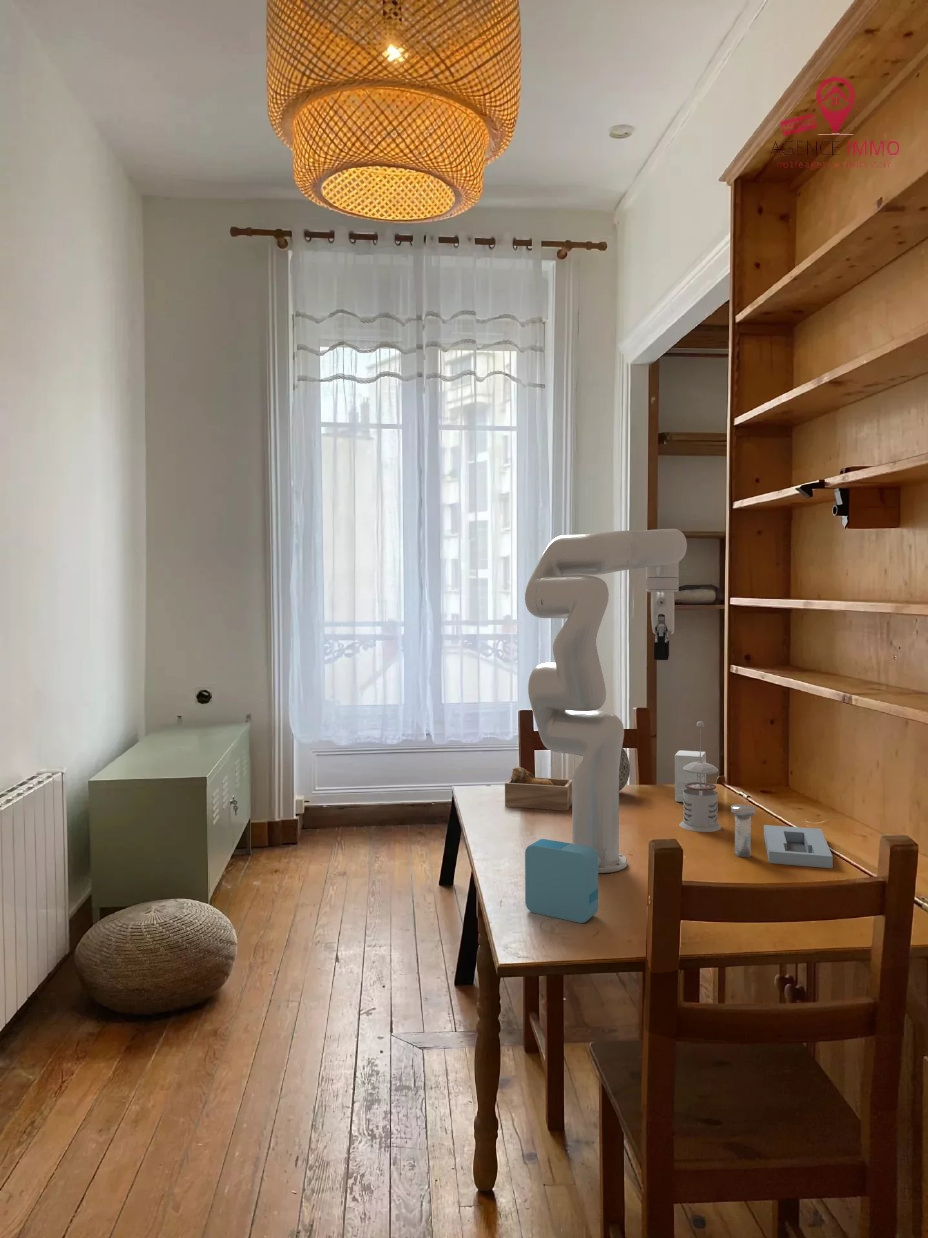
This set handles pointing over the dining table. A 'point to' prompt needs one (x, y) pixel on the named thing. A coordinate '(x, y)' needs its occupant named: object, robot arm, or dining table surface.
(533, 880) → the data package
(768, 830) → the keyhole board
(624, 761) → the decorative egg
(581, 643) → the robot arm
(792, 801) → the dining table surface
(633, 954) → the dining table surface
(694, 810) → the french press
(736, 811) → the metal peg
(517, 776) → the lion figurine
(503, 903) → the dining table surface
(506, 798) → the open wooden box
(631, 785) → the dining table surface
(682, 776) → the supplement box
